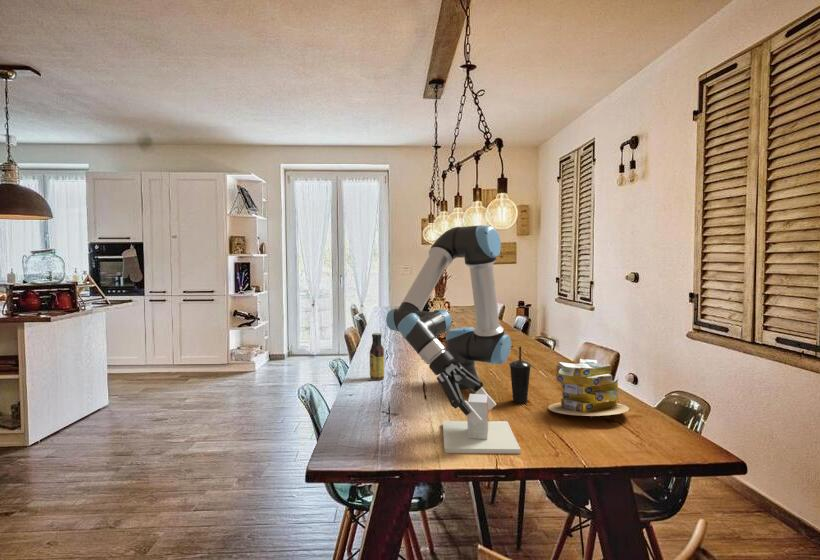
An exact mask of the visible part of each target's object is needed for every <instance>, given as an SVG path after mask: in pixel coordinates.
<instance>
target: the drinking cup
mask: <svg viewBox="0 0 820 560" xmlns="http://www.w3.org/2000/svg"><path fill="white" fill-rule="evenodd" d="M518 350H519V351H518V354H519V355H518V357H519V359H518V360H514V361H511V362H509V364H508V365H509V369H510V370H509V371H510V378H511V381H510V382H511V391H512V392H511V393H512V402H513V403H514V404H518V405H519V404H520V405H524V404H527V403H528V395H529V387H530V386H529V385H530V376H531V375H530V374H531V373H530V372H531V367H532V363H530V362H528V361H525V360H522V346H519V347H518Z"/></svg>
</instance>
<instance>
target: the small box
mask: <svg viewBox="0 0 820 560" xmlns="http://www.w3.org/2000/svg"><path fill="white" fill-rule="evenodd" d="M488 395H489V394H488ZM488 395H485V394H475V393H469V395H468V399H467V402H468V403H469V404H470V406H471V407H472V408H473V409H474V410H475V412H476V413H477V414H478V415H479V416H480V417H481V419H482V420H481V421H480V422H478V423H477V424H476V425H475V426H474V425H473V424H472V422H471V421H470V420H469V419H468V418H467V417H466V418H467V420H466V421H468V438H473V439H487V436H488V421H489V409H488Z"/></svg>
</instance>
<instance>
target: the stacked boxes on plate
mask: <svg viewBox="0 0 820 560" xmlns="http://www.w3.org/2000/svg"><path fill="white" fill-rule="evenodd" d="M611 373H612V365H611V364H610V363H607V364H605V363H599V362H597V363H594V362H593V363H592V362H591V363H585V362H584V363H580V362H578V363H570V362H563V361H559V362H558V363H557V365H556V373H555V379H556V380H555V381H556V382H557V383H560V385H561V395H562V398H561V399H560V402H556V403H555V402H554V403H552V404H549V405H548V407H547V409H548V410H549V411H551V412H554V413H556V414H557V413H558V414H563V415H568V416H583V417H584V416H587V417H588V416H589V417H590V419H591V420H593V419H592V418H593V417H596V416H597V417H600V416H611V415H612V416H613V415H621V414H623V413H627V412H628V411H629V410H630V407H628V406H627V405H625V404H622V403H620V401H619V383H618V381H619V377H617V378H618V379H616V380H613V374H611Z"/></svg>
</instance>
